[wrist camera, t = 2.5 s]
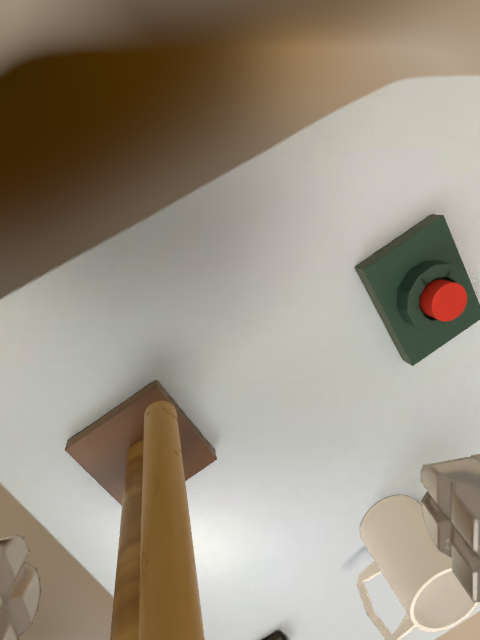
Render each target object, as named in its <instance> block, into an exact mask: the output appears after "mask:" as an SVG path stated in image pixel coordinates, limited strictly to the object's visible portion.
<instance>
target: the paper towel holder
mask: <svg viewBox="0 0 480 640" xmlns="http://www.w3.org/2000/svg"><path fill="white" fill-rule="evenodd" d="M156 401H167V402H169V403H171V404H172V405H173V406H174V407H175V409H176V412H177V420H178V428H179V436H180V444H181V452H182V460H183V468H184V477H185V481H186V480H188V479H189V478H191V477H192V476H193V475H195V474H196V473H198V472H199V471H201V470H202V469H204V468H205V467H206V466H208V465H209V464H211V463H212V462H214V461H215V460H217V457H216V453H215V450H214V449H213V448H212V446H211V445H210V444H209V443H208V442H207V440H206V439H205V438H204V437H203V436H202V434H201V433H200V432H199V431H198V430H197V428H196V427H195V426H194V425H193V424H192V422H191V421H190V420H189V419H188V418H187V416H186V415H185V414H184V413H183V411H182V410H181V409H180V408H179V407H178V405H177V404H176V403H175V402H174V401H173V399H172V398H171V397H170V396H169V395H168V393H167V392H166V391H165V390H164V389H163V387H162V386H161V385H160V384H159V382H158V381H157V380H155V381H154V382H153V383H151V384H150V385H148V386H147V387H145V388H144V389H142V390H141V391H139V392H138V393H136V394H135V395H134V396H132V397H131V398H129V399H128V400H126V401H125V402H123V403H122V404H120V405H119V406H118V407H116V408H115V409H113V410H112V411H110V412H109V413H107V414H106V415H104V416H103V417H102V418H100V419H99V420H97V421H96V422H94V423H93V424H91V425H90V426H88V427H87V428H85V429H84V430H83V431H81V432H80V433H78V434H77V435H75V436H74V437H72V438H71V439H69V440H68V442H67V444H66V447H65V451H66V452H67V453H68V454H70V455H71V456H72V457H73V458H74V459H75V460H76V461H77V462H78V463H79V464H80V465H81V466H82V467H83V468H84V469H85V470H86V471H87V472H88V473H89V474H90V475H91V476H92V477H93V478H94V479H95V480H96V481H97V482H98V483H99V484H100V485H101V486H102V487H103V488H104V489H105V490H106V491H107V492H108V493H109V494H110V495H111V496H112V497H113V498H115V499H116V500H117V501H118V502H119V503H120V504H121V505H122V515H121V526H120V537H119V548H118V559H117V570H116V581H115V592H114V603H113V614H112V625H111V636H110V640H138V628H139V591H140V554H141V517H142V480H143V443H144V414H145V410H146V409H147V407H148V406H149V405H150V404H152V403H154V402H156Z"/></svg>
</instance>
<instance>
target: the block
mask: <svg viewBox="0 0 480 640" xmlns="http://www.w3.org/2000/svg"><path fill="white" fill-rule="evenodd" d="M266 640H286V639H285V637H284V636H283V635H282V634H281V633H278V634H276V635H274V636H272V637H270V638H268V639H266Z"/></svg>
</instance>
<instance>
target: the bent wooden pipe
mask: <svg viewBox="0 0 480 640" xmlns="http://www.w3.org/2000/svg"><path fill="white" fill-rule="evenodd" d="M138 640H205V639H204V631H203V623H202V615H201V607H200V599H199V590H198V582H197V574H196V566H195V558H194V550H193V542H192V533H191V525H190V517H189V509H188V501H187V493H186V485H185V477H184V468H183V460H182V452H181V444H180V436H179V428H178V420H177V412H176V409H175V407H174V406H173V405H172V404H171V403H169V402H167V401H156V402H154V403H152V404H150V405H149V406H148V407H147V409H146V410H145V414H144V443H143V480H142V517H141V554H140V591H139V628H138Z"/></svg>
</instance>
